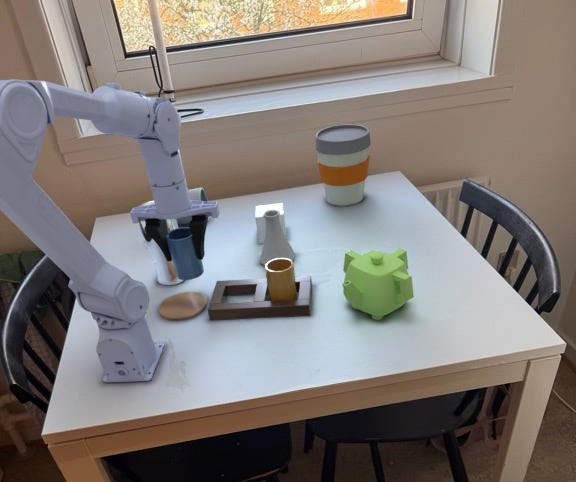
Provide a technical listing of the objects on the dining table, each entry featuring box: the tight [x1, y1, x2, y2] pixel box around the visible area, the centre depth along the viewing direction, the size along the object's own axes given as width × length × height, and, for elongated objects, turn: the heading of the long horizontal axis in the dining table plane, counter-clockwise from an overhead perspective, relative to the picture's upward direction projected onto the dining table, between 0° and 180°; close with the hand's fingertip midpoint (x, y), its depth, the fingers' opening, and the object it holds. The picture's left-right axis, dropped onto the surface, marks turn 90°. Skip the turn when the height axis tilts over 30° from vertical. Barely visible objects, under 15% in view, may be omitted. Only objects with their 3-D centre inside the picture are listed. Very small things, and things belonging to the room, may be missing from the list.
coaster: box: [158, 291, 208, 321], centre depth 103 cm, size 9×9×1 cm
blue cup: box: [166, 226, 205, 281], centre depth 95 cm, size 5×5×8 cm
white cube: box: [254, 202, 287, 244], centre depth 119 cm, size 6×6×6 cm
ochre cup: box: [264, 258, 298, 301], centre depth 98 cm, size 5×5×8 cm
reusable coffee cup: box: [314, 123, 372, 207], centre depth 128 cm, size 13×13×15 cm
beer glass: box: [137, 199, 185, 286], centre depth 107 cm, size 7×7×15 cm
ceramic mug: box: [176, 187, 210, 228], centre depth 128 cm, size 11×8×8 cm
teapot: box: [341, 248, 415, 321], centre depth 93 cm, size 12×12×10 cm
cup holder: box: [207, 275, 313, 321], centre depth 100 cm, size 10×18×2 cm, turn 86°
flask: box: [259, 210, 296, 266], centre depth 109 cm, size 7×7×10 cm
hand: (186, 257), depth 96 cm, fingers closed on blue cup, 5 cm apart
